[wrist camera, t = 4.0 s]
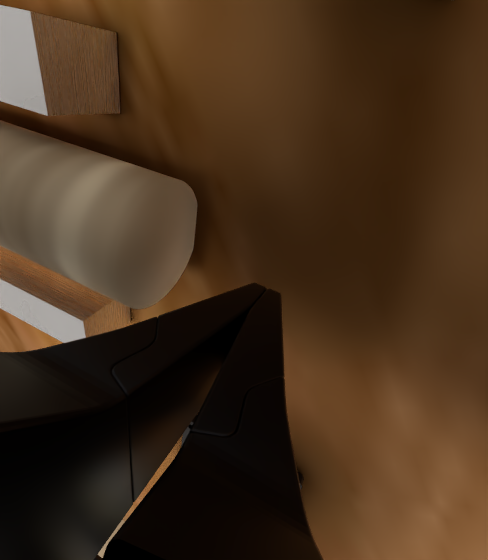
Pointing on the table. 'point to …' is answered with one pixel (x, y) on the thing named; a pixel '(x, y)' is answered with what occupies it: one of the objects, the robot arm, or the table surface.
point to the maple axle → (94, 217)
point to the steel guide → (52, 102)
